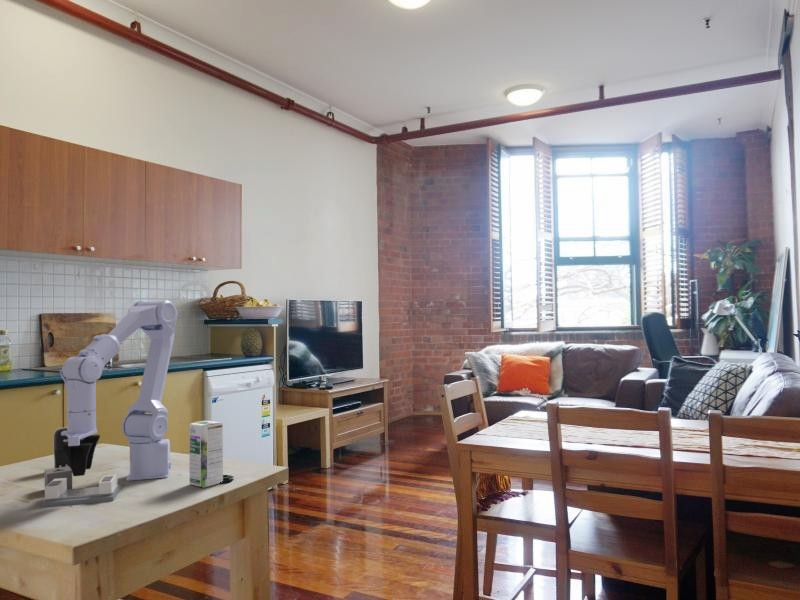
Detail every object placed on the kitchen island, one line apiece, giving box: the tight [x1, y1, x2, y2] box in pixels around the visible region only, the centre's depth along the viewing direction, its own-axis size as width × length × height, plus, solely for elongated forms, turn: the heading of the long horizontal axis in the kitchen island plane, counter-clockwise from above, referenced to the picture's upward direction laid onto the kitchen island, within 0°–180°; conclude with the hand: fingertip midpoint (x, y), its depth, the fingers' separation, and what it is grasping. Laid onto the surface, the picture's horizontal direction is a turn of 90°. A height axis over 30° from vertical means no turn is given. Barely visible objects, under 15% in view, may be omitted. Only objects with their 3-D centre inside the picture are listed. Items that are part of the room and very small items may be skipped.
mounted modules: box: [44, 473, 119, 499], centre depth 133 cm, size 13×7×3 cm, turn 105°
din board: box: [40, 484, 122, 508], centre depth 133 cm, size 14×9×2 cm, turn 105°
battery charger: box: [52, 426, 72, 470], centre depth 157 cm, size 7×4×11 cm, turn 131°
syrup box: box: [188, 420, 224, 489], centre depth 143 cm, size 6×6×14 cm
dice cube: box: [43, 466, 73, 490], centre depth 139 cm, size 5×5×5 cm
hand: (82, 472), depth 133 cm, fingers open, 5 cm apart
